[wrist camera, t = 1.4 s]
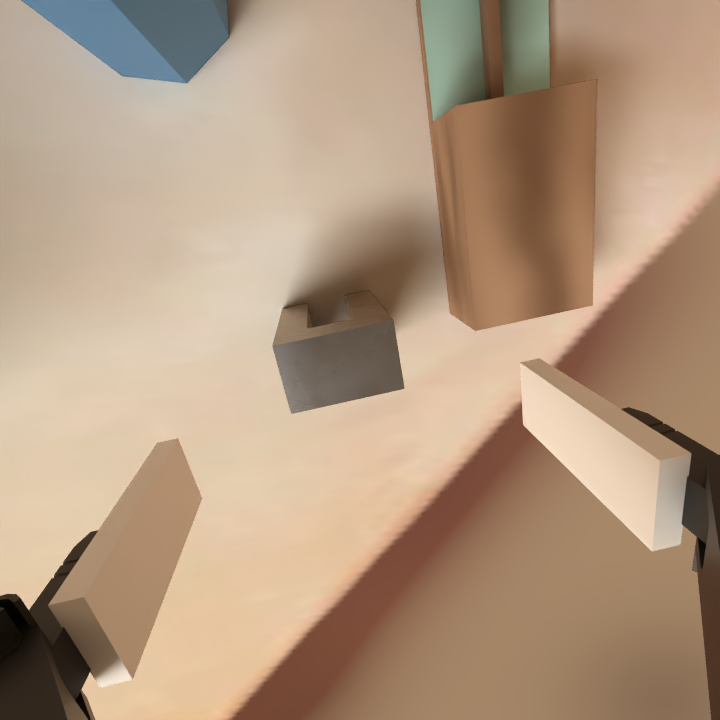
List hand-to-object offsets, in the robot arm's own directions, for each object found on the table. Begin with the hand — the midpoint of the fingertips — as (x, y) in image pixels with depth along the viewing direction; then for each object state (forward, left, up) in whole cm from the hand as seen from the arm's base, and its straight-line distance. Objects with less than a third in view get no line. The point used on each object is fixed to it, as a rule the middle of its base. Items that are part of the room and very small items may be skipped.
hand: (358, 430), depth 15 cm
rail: (+13, +13, -16) cm, 24 cm away
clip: (0, 0, -16) cm, 16 cm away
